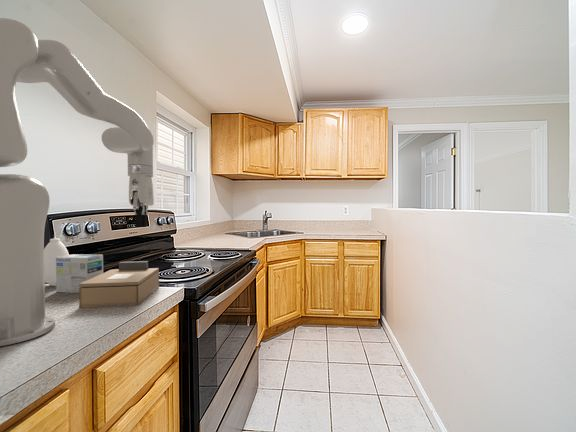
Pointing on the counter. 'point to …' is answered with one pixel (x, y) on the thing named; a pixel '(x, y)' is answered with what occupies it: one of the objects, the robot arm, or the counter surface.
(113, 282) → the lid
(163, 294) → the counter surface
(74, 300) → the counter surface
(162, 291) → the counter surface
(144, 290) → the mailer box
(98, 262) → the light bulb box
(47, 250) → the sauce bottle
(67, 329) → the counter surface
